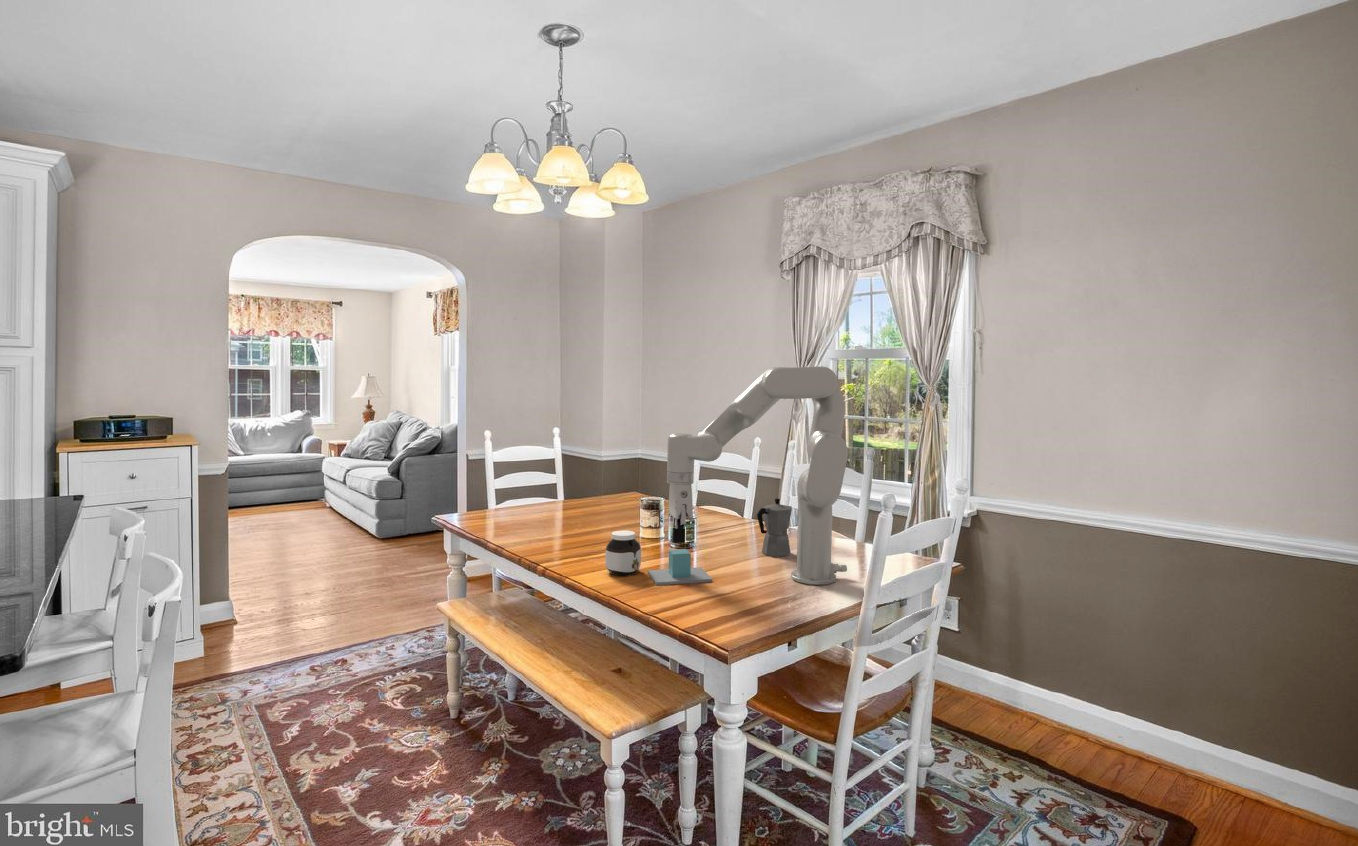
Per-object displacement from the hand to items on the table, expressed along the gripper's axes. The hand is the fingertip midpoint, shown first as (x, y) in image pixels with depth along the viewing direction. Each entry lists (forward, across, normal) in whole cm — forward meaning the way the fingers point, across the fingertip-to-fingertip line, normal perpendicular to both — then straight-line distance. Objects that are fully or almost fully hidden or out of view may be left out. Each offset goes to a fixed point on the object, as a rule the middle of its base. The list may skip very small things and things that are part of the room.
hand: (678, 541), depth 199 cm
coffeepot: (+10, +19, -36) cm, 42 cm away
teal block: (+9, 0, 0) cm, 9 cm away
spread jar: (+11, +10, +15) cm, 21 cm away
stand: (+10, 0, 0) cm, 10 cm away
